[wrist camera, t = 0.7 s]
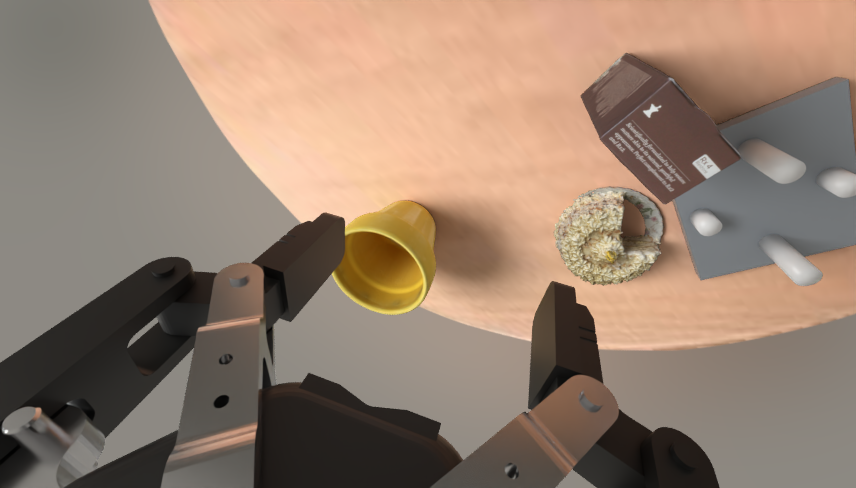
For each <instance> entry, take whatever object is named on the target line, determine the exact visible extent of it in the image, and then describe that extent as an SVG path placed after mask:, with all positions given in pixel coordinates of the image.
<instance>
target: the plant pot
mask: <svg viewBox="0 0 856 488" xmlns="http://www.w3.org/2000/svg"><path fill="white" fill-rule="evenodd" d="M435 235H436V226H435V222H434V220H433V218H432V216H431V215H430V213H429V212H428V211H427V210H426V209H425V208H424V207H422V206H421V205H419V204H417V203H415V202H411V201H398V202H394V203H392V204H390V205H389V206H387V207H385V208H384V209H382V210H380V211H378V212H374V213H368V214H364V215H362V216H359V217H358V218H356V219H354V220H353V221H352V222H351V223H350V224H348V225H347V226H346V227H345V253H344V257H343V259H342V261H341V263H340V264H339V265H338V267H337V268H336V269H335V270H334V271H333V273H332V276H333V278H334V280H335V281H336V283H337V284H338V286H339V287H340V288H341V290H342V291H343V292H344V293H345V294H346V295H347V296H348V297H350V298H351V299H352V300H353V301H355V302H356V303H358V304H360V305H361V306H363V307H365V308H367V309H369V310H372V311H375V312H378V313H382V314H389V315H391V314H392V315H393V314H394V315H395V314H403V313H407V312H410V311H412V310H414V309H415V308H417V307H418V306H419V305H420V304H421V303H422V302H423V301H424V299H425V297H426V295H427V293H428V291H429V289H430V286H431V284H432V281H433V278H434V275H435V271H436V259H435V255H434V251H433V250H434V242H435Z"/></svg>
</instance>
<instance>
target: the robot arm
mask: <svg viewBox="0 0 856 488" xmlns="http://www.w3.org/2000/svg"><path fill="white" fill-rule="evenodd" d="M344 253H345V220H344V218H342V217H339V216H336V215H332V214H329V213H322V214H321V215H320V216H319V217H318V218H317V219H315V220H314V221H313V222H311V221H307V222H304V223H302V224H299V225H297V226H295V227H294V228H293V229H292V230H290V231H289V232H288V233H287V235H284V236H283V237H282V238H281V239H280V240H279V241H277V242H276V243H275V244H274V245H272V246H271V247H270V248H269V249H268V250H266V251H265V252H264V253H263V254H262V255H260V256H259V257H258V258H257V259H256V260H254V261H253V262H252V263H237V264H233V265H230V266H228V267H226V268H224V269H222V270H221V271H220V272H218V273H209V272H194V271H193V269H192V266H191V264H190V262H189V261H188V260H186V259H184V258H180V257H167V258H161V259H158V260H155V261H152V262H151V263H148V264H147V265H145V266H143V267H142V268H141V269H139V270H138V271H136V272H135V273H133V274H132V275H130V276H128V277H127V278H126V279H124V280H123V281H121V282H120V283H118V284H117V285H115V286H114V287H112V288H111V289H109V290H108V291H106V292H105V293H103V294H102V295H100V296H99V297H97V298H96V299H94V300H93V301H91V302H90V303H88V304H87V305H85V306H84V307H82V308H81V309H79V310H78V311H77V312H75V313H74V314H72V315H71V316H69V317H68V318H66V319H65V320H63V321H62V322H60V323H59V324H57V325H56V326H54V327H53V328H51V329H50V330H48V331H47V332H45V333H44V334H42V335H41V336H40V337H38V338H36V339H35V340H34V341H32V342H30V343H29V344H28V345H26V346H25V347H23V348H22V349H20V350H19V351H17V352H16V353H14V354H13V355H11V356H10V357H8V358H7V359H5V360H4V361H2V362H1V363H0V488H555V487H556V486H557V485H558V484H559V483H560V482H561V481H562V480H563V479H564V477H566V475H567V474H568V473H569V472H570V471H571V470H572V469H573V470H574V471H575V472H577V473H578V474H580V475H581V476H582V477H583V478H585V479H586V480H587V481H589V482H590V483H591V484H593V485H594V486H595V487H597V488H719V484H718V481H717V478H716V475H715V472H714V468H713V466H712V464H711V462H710V460H709V458H708V457H707V455H706V454H705V452H704V451H703V450H702V449H701V448H700V446H698V444H697V443H695V442H694V441H693V440H692V439H691V438H689V437H688V436H687V435H685V434H683V433H682V432H680V431H678V430H675V429H672V428H667V427H661V428H658V429H656V430H655V431H654V432H652V431H650V430H649V429H647V428H646V427H644V426H643V425H641V424H639V423H638V422H636V421H635V420H633V419H632V418H630V417H628V416H627V415H626V414H624V413H623V412H622V411H621V410H620V409H619V408H618V404H617V401H616V399H615V397H614V396H613V394H612V393H611V392H610V390H609V389H608V388H607V387H606V386H605V385H604V384H603V379H602V371H601V365H600V358H599V351H598V344H597V338H596V334H595V332H596V331H595V324H594V319H593V317H592V315H591V314H590V312H589V310H588V309H587V307H586V306H584V305H581V304H577V303H576V294H575V288H574V287H571V286H568V285H564V284H561V283H558V282H554V281H552V282H551V283H550V285H549V287H548V289H547V291H546V293H545V295H544V297H543V299H542V301H541V303H540V305H539V307H538V309H537V311H536V313H535V317H534V320H533V326H532V344H531V345H532V346H531V363H530V384H529V401H528V408H529V409H531V411H530V412H528V413H526V412H523V413H521V414H520V415H518V416H517V417H516V418H515V419H513V420H512V421H511V422H510V423H508V424H507V425H506V426H505V427H504V428H502V429H501V430H500V431H499V432H497V433H496V434H495V435H494V436H492V437H491V438H490V439H489V440H488V441H487V442H485V443H484V444H483V445H481V446H480V447H479V448H478V449H477V450H476V451H474V452H473V453H472V454H470V455H469V456H468V457H467V458H466V459H464V460H463V459H462V458H461V456H460V455H459V453H458V452H457V451H456V450H455V448H454V447H453V446H452V445H451V444H450V443H449V442H448V441H447V440H446V439H444V438H443V437H442V436H440V435H439V434H438V433H439V429H440V425H441V423H439V422H437V421H434V420H431V419H429V418H426V417H423V416H420V415H418V414H415V413H413V412H410V411H408V410H400V409H390V408H380V407H372V406H368V405H367V404H365V403H364V402H362V401H361V400H360V399H358V398H357V397H356V396H354V395H353V394H352V393H350V392H349V391H348V390H346V389H345V388H343V387H342V386H341V385H339V384H337V383H334V382H331V381H329V380H326V379H324V378H321V377H318V376H316V375H313V374H310V373H308V375H307V376H306V378H305V379H304V381H303V382H302V383H301V382H295V383H294V382H293V383H283V384H278V385H277V384H276V374H275V335H274V323H276V321H277V320H278V319H279V318H281V319H283V320H286V321H289V322H291V321H292V320H293V319H294V318H295V317H296V315H297V314H298V313H299V312H300V311H301V309H302V308H303V307H304V306H305V305H306V303H307V302H308V301H309V300H310V299H311V298H312V296H313V295H314V294H315V293H316V292H317V290H318V289H319V288H320V287H321V286H322V284H323V283H324V282H325V281H326V280H327V279H328V277H329V276H330V275H331V274H332V273H333V271H334V270H335V269H336V268H337V267H338V265H339V264H340V263H341V261H342V259H343V257H344ZM155 317H157V319H158V321H159V322H158V323H157V324H155V326H153V327H152V328H151V329H150V330H148V331H147V332H146V333H145V334H144V335H143V336H141V337H140V338H139V339H138V340H137V341H136V342H134V343H133V344H132V345H131V346H130V347H129V348H127V346H128V343H129V341H130V340H131V338H132V337H133V336H134V335H135V334H136V333H137V332H138V331H139V330H141V329H142V328H143V327H144V326H145V325H147V324H148V323H149V322H150V321H152V320H153V319H154V318H155ZM193 348H194V350H193V355H192V361H191V366H190V371H189V377H188V382H187V387H186V392H185V398H184V403H183V408H182V413H181V419H180V424H179V429H178V430H177V431H175V432H173V433H170V434H169V435H166V436H164V437H162V438H160V439H158V440H156V441H154V442H152V443H150V444H148V445H146V446H144V447H141V448H139V449H137V450H135V451H133V452H131V453H129V454H127V455H125V456H123V457H121V458H119V459H116V460H115V461H112V462H110V463H108V464H106V465H104V466H102V467H100V468H98V469H96V468H97V465H98V463H97V460H98V458H99V456H100V455H101V453H102V451H103V449H104V445H105V438H106V437H107V436H108V435H109V434H110V433H111V432H112V431H113V430H114V429H115V428H116V427H117V426H118V425H119V424H120V422H122V421H123V419H125V418H126V417H127V415H129V413H130V412H131V411H132V410H133V409H134V408H135V407H136V406H137V405H138V404H139V403H140V402H141V401H142V400H143V399H144V398H145V397H146V396H147V395H148V394H149V393H150V392H151V391H152V390H153V389H154V388H155V387H156V386H157V385H158V384H159V383H160V382H161V381H162V380H163V379H164V378H165V377H166V376H167V375H168V374H169V372H171V371H172V369H173V368H174V367H175V366H176V365H177V364H178V363H179V362H180V361H181V360H182V359H183V358H184V357H185V356H186V355H187V354H188V353H189V352H190V351H191V350H192V349H193Z"/></svg>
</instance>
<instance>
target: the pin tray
mask: <svg viewBox="0 0 856 488" xmlns="http://www.w3.org/2000/svg"><path fill="white" fill-rule="evenodd" d="M716 127H717V129H718V130H719V131H720V132H721V133H722V134H723V135H724V137H725V138H726V139H727V140H728V141H729V142H730V143H731V144H732V145H733V146H734V147H735V148H736V149H737V150H738V151H739V152H740V154H741V159H740V160H739V161H737V162H735V163H734V164H732V165H730V166H728V167H727V168H725V169H723V170H722V171H720V172H718V173H716V174H715V175H713V176H711V177H710V178H708V179H707V180H705V181H703V182H702V183H700V184H699V185H697V186H695V187H694V188H692V189H690V190H689V191H687V192H686V193H684V194H682V195H681V196H679V197H677V198H676V199H674V200H672V201H673V204H674V207H675V210H676V213H677V216H678V219H679V222H680V225H681V228H682V231H683V235H684V238H685V241H686V244H687V247H688V250H689V253H690V256H691V259H692V262H693V265H694V268H695V271H696V274H697V275H698V277H699V278H700V280H704V279H709V278H713V277H717V276H722V275H726V274H730V273H735V272H739V271H744V270H748V269H752V268H757V267H761V266H765V265H770V264H774V263H776V264H777V265H778V266H779V267H780V268H781V269H782V270H783V271H784V272H785V273H786V274H787V276H788V277H789V278H790V279H791V280H792V281H793V282H794V283H795V284H797V285H800V286H809V285H813V284H815V283H817V282H819V281H820V280H821V278H822V276H823V274H822V272H821V271H820V270H819V269H817V268H816V267H815V266H814V265H813V264H812V263H811V262H810V261H808V260H807V259H806V258H805V256H809V255H813V254H818V253H822V252H827V251H831V250H835V249H840V248H844V247H848V246H853V245H856V154H855V143H854V132H853V122H852V111H851V100H850V90H849V79H845V78H839V77H834V78H832V79H829V80H827V81H824V82H822V83H819V84H817V85H814V86H812V87H810V88H807V89H805V90H802V91H800V92H797V93H795V94H792V95H790V96H787V97H785V98H782V99H780V100H778V101H775V102H773V103H770V104H768V105H765V106H763V107H760V108H758V109H755V110H753V111H751V112H748V113H746V114H743V115H741V116H738V117H736V118H733V119H731V120H728V121H726V122H723V123H721V124H719V125H716Z"/></svg>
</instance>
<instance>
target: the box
mask: <svg viewBox="0 0 856 488" xmlns="http://www.w3.org/2000/svg"><path fill="white" fill-rule="evenodd" d="M581 98H582V100H583V103H584V105H585V107H586V109H587V111H588V113H589V115H590V117H591V120H592V122H593V124H594V126H595V128H596V130H597V133H598V135H599V138H600V140H601V141H602V142H603V143H604V144H605V145H606V147H607V148H608V149H609V150H610V151H611V152H612V153H613V154H614V155H615V156H616V157H617V159H618V160H619V161H620V162H621V163H622V164H623V165H624V166H626V167H627V168H628V169H629V170H630V171H631V172H632V173H633V174H634V175H635V176H636V177H637V178H638V179H639V181H640V182H641V183H642V184H643V185H644V186H645V187H646V188H647V189H648V190H649V191H651V192H652V193H653V194H654V195H655V196H656V197H657V198H658V199H659V200H660V201H661V202H662V203H663V204H667V203H669V202H670V201H672V200H674V199H676V198H677V197H679V196H681V195H682V194H684V193H686V192H687V191H689V190H690V189H692V188H694V187H695V186H697V185H699V184H700V183H702V182H703V181H705V180H707V179H708V178H710V177H711V176H713V175H715V174H716V173H718V172H720V171H722V170H723V169H725V168H727V167H728V166H730V165H732V164H734V163H735V162H737V161H739V160H740V159H741V154H740V152H739V151H738V150H737V149H736V148H735V147H734V146H733V145H732V144H731V143H730V142H729V141H728V140H727V139H726V138H725V137H724V135H723V134H722V133H721V132H720V131H719V130H718V129H717V127H716V125H715V123H714V121H713V120H712V119H711V117H710V116H709V115H707V114H706V113H705V112H704V111H702V110H701V109H699V108H698V107H697V105H696V104H695V103H694V102H693V101H692V100H691V99H690V97H689V96H688V95H687V94H686V93H685V92H684V90H683V89H682V88H681V87H680V86H679V85H678V84H677V83H676V82H675V80H674V79H673V78H671V77H669V76H667V75H666V74H664V73H662V72H660V71H659V70H657V69H655V68H653V67H651V66H649V65H648V64H646V63H644V62H642V61H640V60H639V59H637V58H635V57H633V56H631V55H629V54H628V53H625V54H624V55H623V56H622V57H621V58H619V59H618V60H617V61H616V62H615V63H614V64H613V65H612V66H611V67H610V68H609V69H608V70H607V71H605V72H604V73H603V74H602V75H601V77H600V78H599V79H597V80H596V81H595V82H594V83H593V84H592V85H591V86H590V87H589V88H588V89H587V90H586V91H585V92H584V93H583V94H582V95H581Z"/></svg>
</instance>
